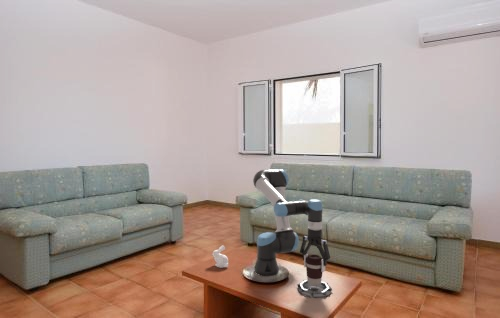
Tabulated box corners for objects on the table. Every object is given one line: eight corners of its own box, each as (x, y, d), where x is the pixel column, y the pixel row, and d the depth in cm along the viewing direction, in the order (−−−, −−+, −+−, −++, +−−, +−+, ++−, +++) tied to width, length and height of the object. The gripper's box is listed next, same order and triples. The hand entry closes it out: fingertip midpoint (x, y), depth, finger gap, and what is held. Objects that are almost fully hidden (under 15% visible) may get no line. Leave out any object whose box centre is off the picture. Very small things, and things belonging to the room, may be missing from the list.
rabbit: (210, 265, 210) (210, 247, 209) (221, 261, 217) (221, 243, 216) (223, 270, 202) (223, 251, 201) (234, 265, 209) (234, 247, 208)
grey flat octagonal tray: (291, 290, 174) (291, 286, 174) (308, 279, 188) (308, 276, 187) (321, 301, 162) (321, 297, 162) (336, 288, 176) (337, 284, 176)
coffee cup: (323, 288, 169) (324, 260, 168) (304, 286, 171) (305, 259, 170) (323, 280, 179) (323, 254, 178) (305, 278, 181) (305, 252, 180)
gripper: (293, 226, 177) (293, 265, 179) (331, 233, 163) (330, 276, 164) (300, 223, 183) (300, 261, 184) (337, 230, 169) (336, 272, 170)
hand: (314, 268), depth 174 cm, fingers closed on coffee cup, 10 cm apart
